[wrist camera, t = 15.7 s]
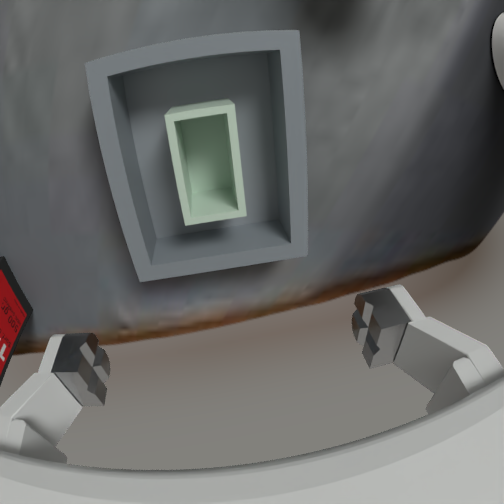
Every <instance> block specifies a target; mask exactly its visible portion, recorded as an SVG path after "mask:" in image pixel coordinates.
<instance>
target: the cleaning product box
mask: <svg viewBox="0 0 504 504" xmlns="http://www.w3.org/2000/svg"><path fill="white" fill-rule="evenodd" d="M32 310H33V309H32V307H31V305H30V304H29V302H28V300H27V299H26V297H25V295H24V293H23V292H22V290H21V288H20V286H19V284H18V283H17V281H16V279H15V277H14V275H13V273H12V271H11V269H10V267H9V265H8V263H7V261H6V259H5V257H4V256H3V257H0V385H1V383H2V380H3V377H4V374H5V372H6V369H7V367H8V364H9V362H10V359H11V357H12V354H13V352H14V350H15V347H16V345H17V343H18V340H19V338H20V336H21V334H22V331H23V329H24V327H25V325H26V323H27V321H28V319H29V317H30V314H31V312H32Z"/></svg>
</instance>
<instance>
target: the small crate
mask: <svg viewBox="0 0 504 504" xmlns="http://www.w3.org/2000/svg"><path fill="white" fill-rule="evenodd" d="M164 116H165V122H166V128H167V134H168V140H169V145H170V151H171V156H172V162H173V167H174V173H175V178H176V183H177V188H178V193H179V198H180V203H181V208H182V213H183V218H184V222H185V226H187V225H193V224H199V223H206V222H212V221H218V220H225V219H231V218H237V217H244V216H247V213H246V204H245V195H244V186H243V177H242V168H241V159H240V149H239V140H238V131H237V122H236V113H235V104H234V103H233V102H232V101H231V100H229V99H228V98H225V99H217V100H210V101H203V102H197V103H191V104H185V105H179V106H173V107H171V108H170V109H169V111H168V112H167V113H166V114H165V115H164Z"/></svg>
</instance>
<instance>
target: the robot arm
mask: <svg viewBox="0 0 504 504" xmlns="http://www.w3.org/2000/svg"><path fill="white" fill-rule="evenodd" d="M492 52H493V60H494V65H495V69H496V72H497V76H498V78H499V81H500V83H501V85H502V87H503V89H504V13H502V14H501V15H499V17H498V18H497V20H496V22H495V24H494V28H493V33H492ZM355 306H356V307H357V310H356V311H355V312H354V313H353V315H352V330H353V333H354V336H355V339H356V341H357V342H358V343H359V344H361V345H363V346H364V347H363V351H362V354H363V355H364V358H365V360H366V362H367V364H368V366H369V368H374V367H378V366H382V365H385V364H389V363H393V362H394V363H393V364H395V365H396V366H397V367H399V368H400V369H402V370H403V371H404V372H406V373H407V374H408V375H410V376H411V377H412V378H414V379H415V380H416V381H418V382H419V383H420V384H422V385H423V386H425V387H426V388H427V389H429V390H430V391H431V392H433V393H434V395H433V397H432V398H431V400H430V401H429V403H428V404H427V407H426V410H427V412H428V415H426V416H424V417H421V418H419V419H416V420H414V421H411V422H409V423H406V424H403V425H401V426H398V427H395V428H393V429H390V430H387V431H384V432H381V433H378V434H375V435H372V436H369V437H366V438H363V439H360V440H356V441H353V442H350V443H346V444H342V445H339V446H335V447H331V448H327V449H323V450H319V451H315V452H311V453H306V454H302V455H297V456H292V457H287V458H282V459H276V460H270V461H264V462H258V463H251V464H243V465H235V466H226V467H215V468H204V469H203V468H202V469H184V470H129V469H111V468H97V467H87V466H79V465H71V464H66V463H67V457H66V455H65V454H64V453H62V452H61V451H59V450H58V449H57V448H56V445H57V444H58V442H59V441H60V439H61V438H62V436H63V435H64V433H65V432H66V431H67V429H68V428H69V426H70V425H71V423H72V422H73V420H74V419H75V418H76V416H77V415H78V413H79V412H80V410H81V409H82V406H104V404H105V397H106V392H107V388H106V386H105V385H104V382H106V380H107V379H108V378H109V375H110V362H109V358H108V356H107V354H106V352H105V350H104V349H102V348H100V347H99V346H98V342H99V340H98V339H97V337H96V335H95V334H94V333H75V334H55V335H53V336H52V337H51V338H50V340H49V343H48V346H47V348H46V351H45V354H44V356H43V359H42V362H41V365H40V368H39V370H38V373H34V374H33V375H32V376H31V377H30V378H29V379H28V380H27V381H26V382H25V383H24V384H23V385H22V386H21V387H20V388H19V389H18V390H17V391H16V392H15V393H14V394H13V395H12V396H11V397H10V398H9V399H8V400H7V401H6V402H5V403H4V404H3V405H2V406H1V407H0V504H504V369H503V367H502V366H501V364H500V363H499V362H498V360H497V359H496V357H495V356H494V354H493V353H492V351H491V350H490V349H489V347H488V346H487V345H485V344H483V343H481V342H479V341H478V340H476V339H473V338H472V337H470V336H468V335H466V334H464V333H462V332H460V331H458V330H456V329H454V328H452V327H450V326H448V325H446V324H444V323H442V322H440V321H438V320H436V319H434V318H432V317H425V315H424V314H423V313H422V311H421V310H420V308H419V307H418V306H417V304H416V303H415V301H414V300H413V299H412V297H411V296H410V295H409V293H408V292H407V291H406V289H405V288H404V287H403V286H402V285H400V284H399V285H394V286H390V287H387V288H382V289H378V290H373V291H369V292H364V293H360V294H357V296H356V298H355Z"/></svg>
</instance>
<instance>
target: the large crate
mask: <svg viewBox="0 0 504 504" xmlns="http://www.w3.org/2000/svg"><path fill="white" fill-rule="evenodd" d="M85 68H86V75H87V81H88V87H89V93H90V99H91V105H92V110H93V115H94V120H95V125H96V130H97V135H98V139H99V144H100V148H101V153H102V157H103V161H104V165H105V169H106V173H107V177H108V181H109V185H110V189H111V192H112V196H113V199H114V203H115V207H116V210H117V214H118V217H119V220H120V224H121V227H122V230H123V233H124V237H125V240H126V243H127V246H128V249H129V252H130V255H131V258H132V261H133V264H134V267H135V270H136V273H137V276H138V278H139V281H140V282H145V281H151V280H158V279H164V278H171V277H177V276H184V275H190V274H197V273H203V272H210V271H216V270H223V269H229V268H235V267H241V266H248V265H254V264H260V263H266V262H272V261H279V260H285V259H291V258H297V257H303V256H308V182H307V146H306V122H305V102H304V85H303V70H302V57H301V44H300V33H299V30H267V31H248V32H235V33H224V34H215V35H207V36H199V37H193V38H186V39H180V40H174V41H169V42H164V43H159V44H154V45H149V46H145V47H140V48H136V49H132V50H128V51H124V52H120V53H117V54H113V55H109V56H106V57H103V58H99V59H96V60H93V61H90V62H87V63H85ZM225 98H228V99H229V100H231V101H232V102H233V103H234V104H235V113H236V122H237V131H238V140H239V149H240V159H241V168H242V177H243V186H244V195H245V204H246V213H247V216H244V217H237V218H231V219H225V220H218V221H212V222H206V223H199V224H193V225H187V226H185V222H184V218H183V213H182V208H181V203H180V198H179V193H178V188H177V183H176V178H175V173H174V167H173V162H172V156H171V151H170V145H169V140H168V134H167V128H166V122H165V116H164V115H165V114H166V113H167V112H168V111H169V109H170V108H171V107H173V106H179V105H185V104H191V103H197V102H203V101H210V100H217V99H225Z"/></svg>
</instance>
